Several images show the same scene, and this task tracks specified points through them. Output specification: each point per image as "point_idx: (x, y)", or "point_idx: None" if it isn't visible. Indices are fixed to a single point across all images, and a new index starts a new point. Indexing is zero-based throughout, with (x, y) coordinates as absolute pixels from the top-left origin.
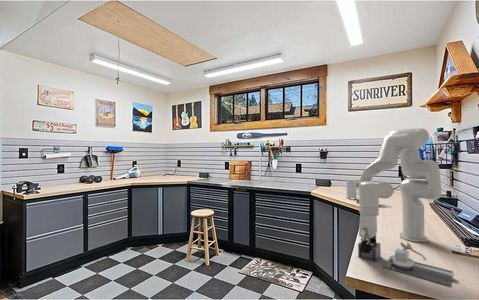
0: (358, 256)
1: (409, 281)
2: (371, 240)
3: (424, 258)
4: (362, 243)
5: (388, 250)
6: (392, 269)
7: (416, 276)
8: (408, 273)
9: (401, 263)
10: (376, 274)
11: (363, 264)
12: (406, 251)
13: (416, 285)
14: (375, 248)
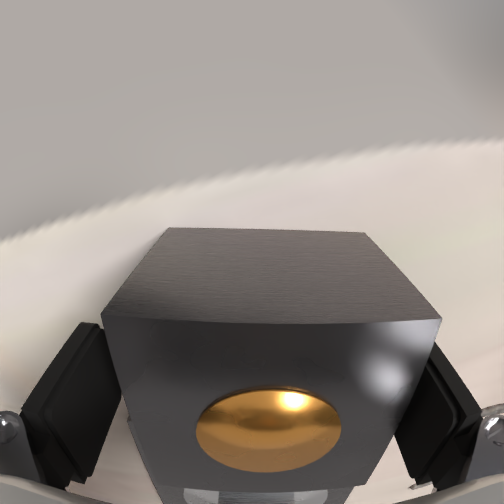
0: (166, 231)
1: (95, 475)
2: (423, 422)
3: (420, 486)
4: (35, 413)
5: (495, 367)
6: (139, 449)
7: (161, 498)
8: (156, 488)
9: (186, 501)
10: (17, 383)
11: (52, 309)
12: None
13: (88, 483)
14: (156, 476)
